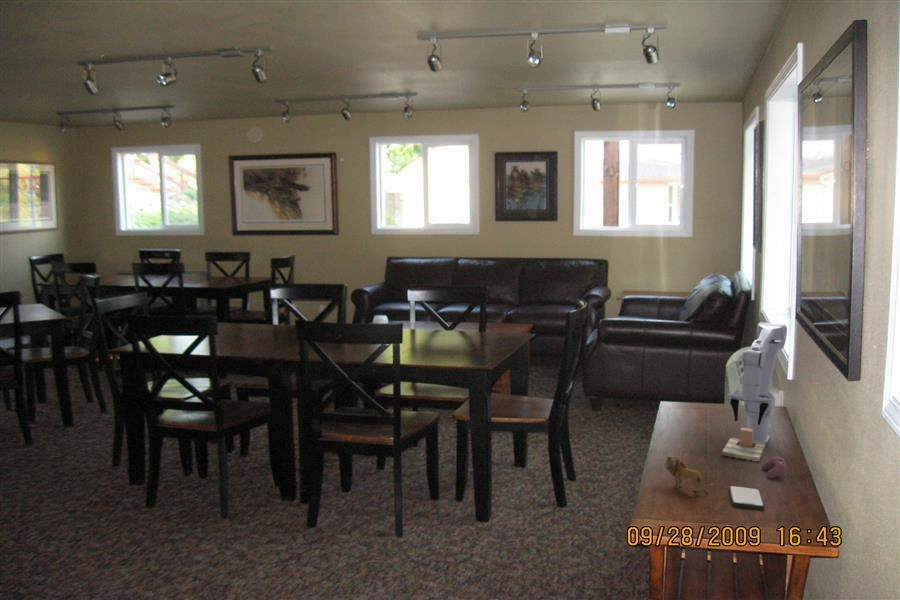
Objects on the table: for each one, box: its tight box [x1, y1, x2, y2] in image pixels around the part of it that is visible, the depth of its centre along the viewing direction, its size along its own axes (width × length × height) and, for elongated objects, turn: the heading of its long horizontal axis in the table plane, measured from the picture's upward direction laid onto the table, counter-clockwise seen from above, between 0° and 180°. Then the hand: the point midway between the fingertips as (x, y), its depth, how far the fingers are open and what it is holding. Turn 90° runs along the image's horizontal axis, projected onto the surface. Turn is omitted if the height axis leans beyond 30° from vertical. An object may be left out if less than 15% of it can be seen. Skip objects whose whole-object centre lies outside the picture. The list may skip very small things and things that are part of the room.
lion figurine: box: [663, 455, 710, 496], centre depth 245 cm, size 15×5×9 cm, turn 44°
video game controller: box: [761, 455, 787, 479], centre depth 262 cm, size 10×5×7 cm, turn 169°
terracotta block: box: [738, 426, 754, 448], centre depth 289 cm, size 4×4×7 cm
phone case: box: [728, 485, 765, 511], centre depth 239 cm, size 9×2×16 cm
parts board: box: [721, 437, 767, 462], centre depth 286 cm, size 20×12×2 cm, turn 153°
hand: (747, 422), depth 288 cm, fingers open, 7 cm apart
